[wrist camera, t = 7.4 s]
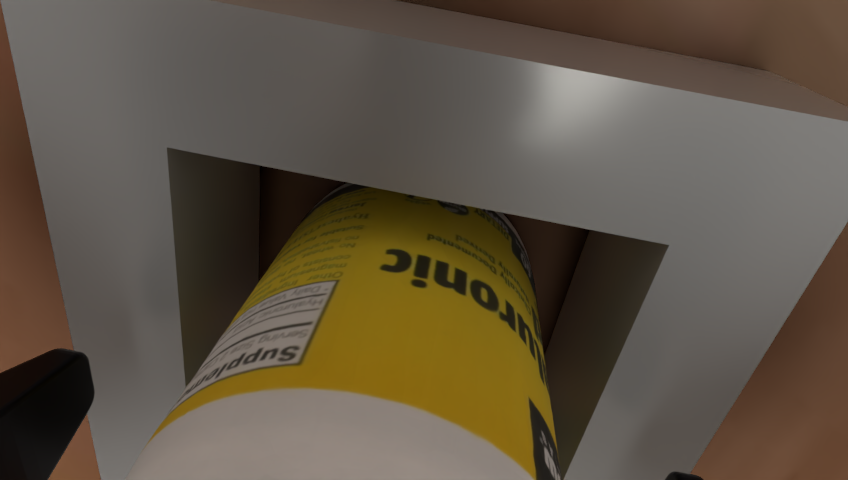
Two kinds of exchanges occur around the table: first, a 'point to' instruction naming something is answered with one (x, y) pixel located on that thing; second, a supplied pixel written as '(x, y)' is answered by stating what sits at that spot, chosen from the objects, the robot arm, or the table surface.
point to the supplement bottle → (374, 356)
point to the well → (427, 192)
